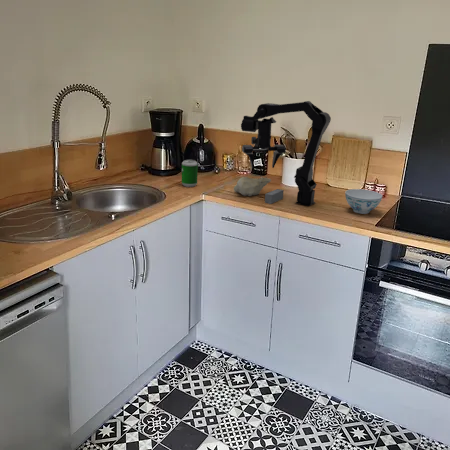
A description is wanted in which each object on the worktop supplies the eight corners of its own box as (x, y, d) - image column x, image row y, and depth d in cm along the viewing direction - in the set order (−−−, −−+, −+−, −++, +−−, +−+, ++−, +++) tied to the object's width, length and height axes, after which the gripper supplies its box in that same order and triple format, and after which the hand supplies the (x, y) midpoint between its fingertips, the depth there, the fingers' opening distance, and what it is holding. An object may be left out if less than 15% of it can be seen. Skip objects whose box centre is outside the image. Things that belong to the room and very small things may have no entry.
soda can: (200, 185, 224) (200, 160, 219) (191, 188, 217) (191, 163, 213) (187, 182, 227) (188, 158, 223) (178, 185, 221) (178, 161, 217)
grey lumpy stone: (228, 200, 209) (251, 185, 199) (226, 186, 212) (247, 170, 202) (253, 205, 219) (275, 191, 209) (250, 191, 221) (271, 177, 211)
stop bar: (282, 198, 207) (283, 190, 206) (270, 204, 199) (271, 195, 198) (277, 197, 209) (277, 188, 208) (264, 202, 200) (265, 193, 199)
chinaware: (335, 207, 198) (338, 190, 196) (364, 204, 204) (366, 188, 201) (357, 218, 185) (360, 200, 183) (387, 215, 191) (390, 197, 188)
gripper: (280, 130, 210) (278, 164, 215) (240, 130, 208) (239, 164, 213) (286, 133, 200) (284, 169, 205) (244, 134, 197) (243, 169, 203)
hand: (262, 168), depth 207 cm, fingers open, 9 cm apart
